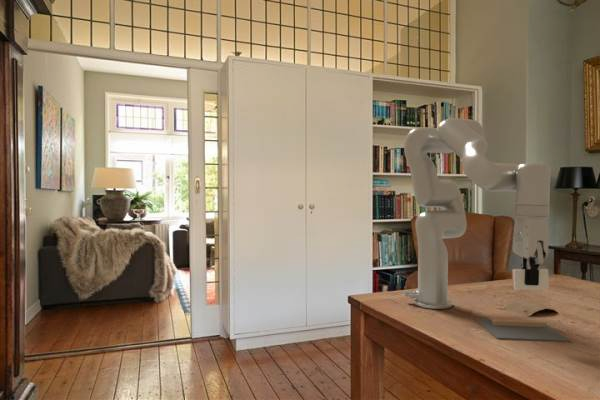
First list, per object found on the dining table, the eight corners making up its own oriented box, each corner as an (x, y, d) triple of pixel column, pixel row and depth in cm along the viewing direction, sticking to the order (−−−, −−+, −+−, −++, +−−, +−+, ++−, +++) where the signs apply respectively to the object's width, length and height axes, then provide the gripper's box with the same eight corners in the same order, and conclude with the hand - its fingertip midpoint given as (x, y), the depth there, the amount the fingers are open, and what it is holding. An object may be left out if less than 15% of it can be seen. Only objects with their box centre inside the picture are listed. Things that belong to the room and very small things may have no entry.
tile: (515, 289, 103) (514, 270, 103) (512, 288, 105) (512, 268, 105) (548, 289, 102) (548, 269, 102) (545, 287, 104) (545, 268, 104)
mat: (497, 339, 105) (497, 332, 105) (476, 319, 121) (476, 314, 121) (570, 341, 103) (570, 335, 103) (539, 321, 119) (539, 316, 119)
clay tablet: (533, 306, 138) (533, 298, 138) (562, 314, 129) (562, 306, 129) (501, 310, 133) (501, 302, 133) (528, 319, 124) (528, 310, 124)
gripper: (504, 210, 111) (502, 276, 112) (529, 213, 96) (527, 291, 97) (533, 210, 110) (531, 277, 111) (563, 214, 95) (561, 292, 96)
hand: (529, 283), depth 104 cm, fingers closed on tile, 1 cm apart
